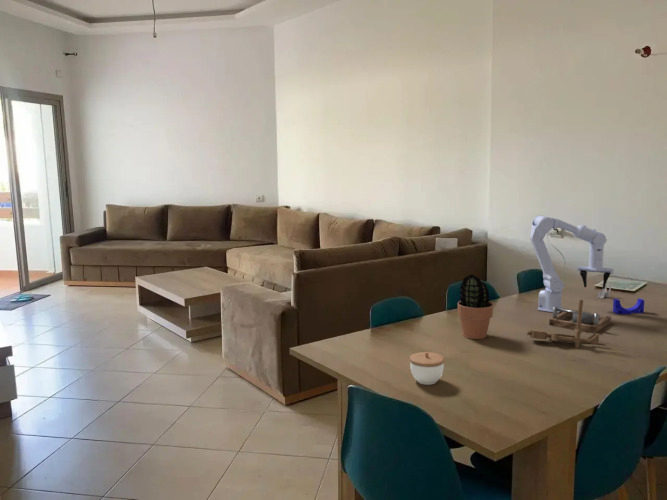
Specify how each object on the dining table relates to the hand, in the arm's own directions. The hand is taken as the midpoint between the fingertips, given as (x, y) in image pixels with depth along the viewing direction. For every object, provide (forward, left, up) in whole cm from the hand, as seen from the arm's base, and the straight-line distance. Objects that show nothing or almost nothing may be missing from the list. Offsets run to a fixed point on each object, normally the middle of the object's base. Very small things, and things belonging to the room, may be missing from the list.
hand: (594, 287), depth 252 cm
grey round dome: (+3, -23, -11) cm, 25 cm away
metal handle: (+3, -32, -10) cm, 34 cm away
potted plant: (-23, -68, -11) cm, 73 cm away
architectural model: (+1, +24, -11) cm, 27 cm away
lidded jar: (-12, -119, -11) cm, 120 cm away
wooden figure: (+6, -55, -11) cm, 56 cm away
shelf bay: (+3, -25, -10) cm, 27 cm away
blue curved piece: (+14, +5, -11) cm, 18 cm away
